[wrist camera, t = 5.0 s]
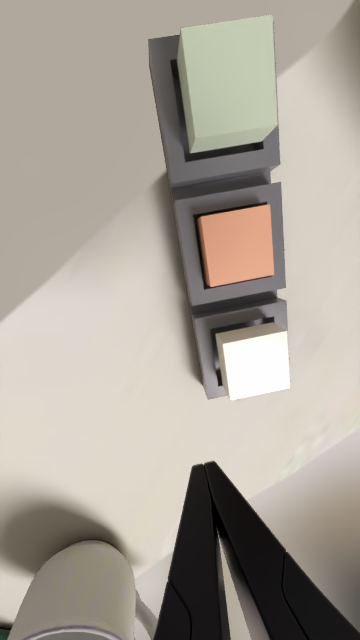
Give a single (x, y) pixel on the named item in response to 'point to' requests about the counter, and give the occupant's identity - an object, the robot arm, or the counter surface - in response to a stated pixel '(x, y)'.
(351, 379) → the counter surface
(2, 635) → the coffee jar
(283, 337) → the cream button
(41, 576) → the teacup
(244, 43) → the sage button
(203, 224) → the terracotta button
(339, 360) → the counter surface
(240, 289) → the button bank
